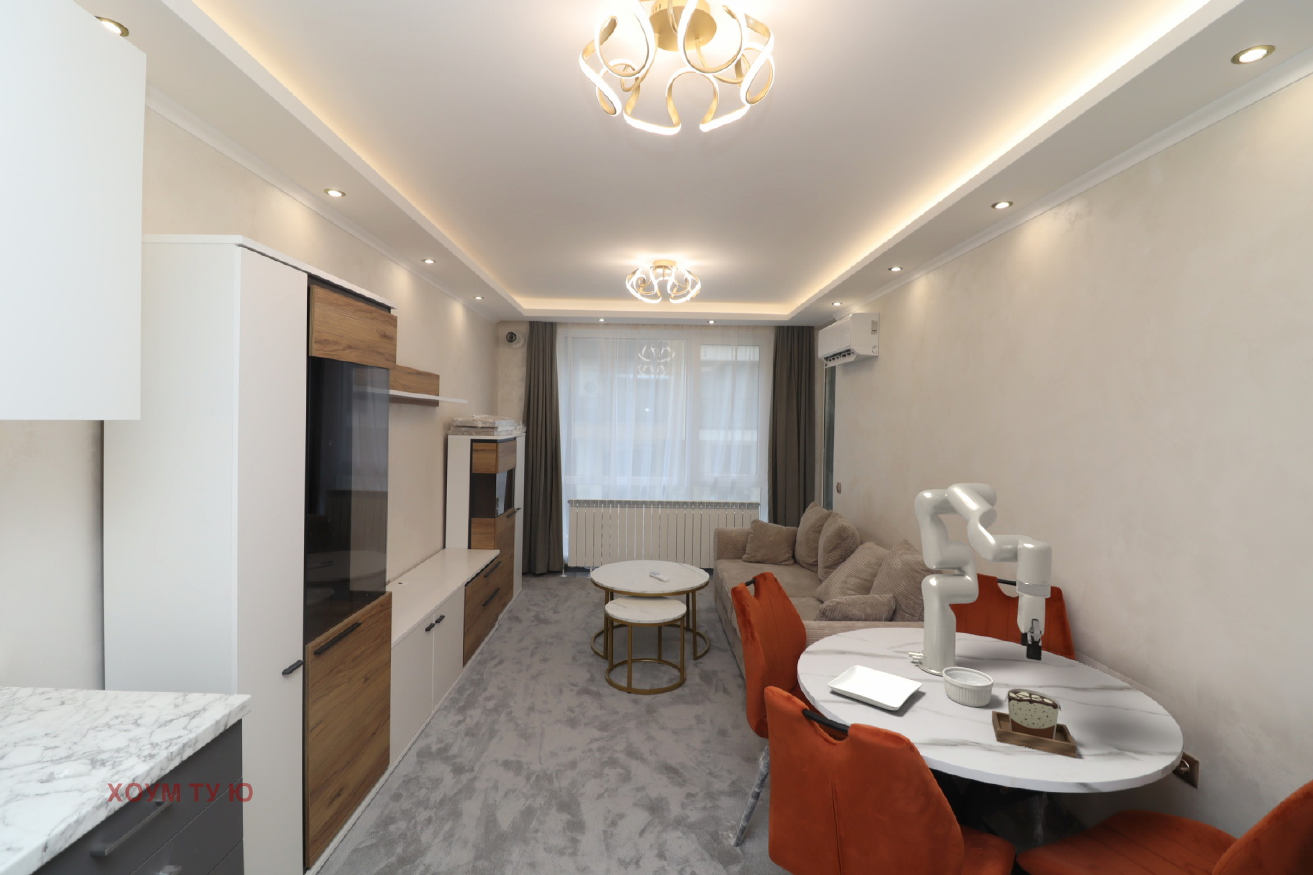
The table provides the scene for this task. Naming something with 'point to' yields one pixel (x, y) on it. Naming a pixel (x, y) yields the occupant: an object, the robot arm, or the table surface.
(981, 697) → the ramekin
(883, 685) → the salad plate
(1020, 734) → the tray
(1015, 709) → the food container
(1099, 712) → the table surface
